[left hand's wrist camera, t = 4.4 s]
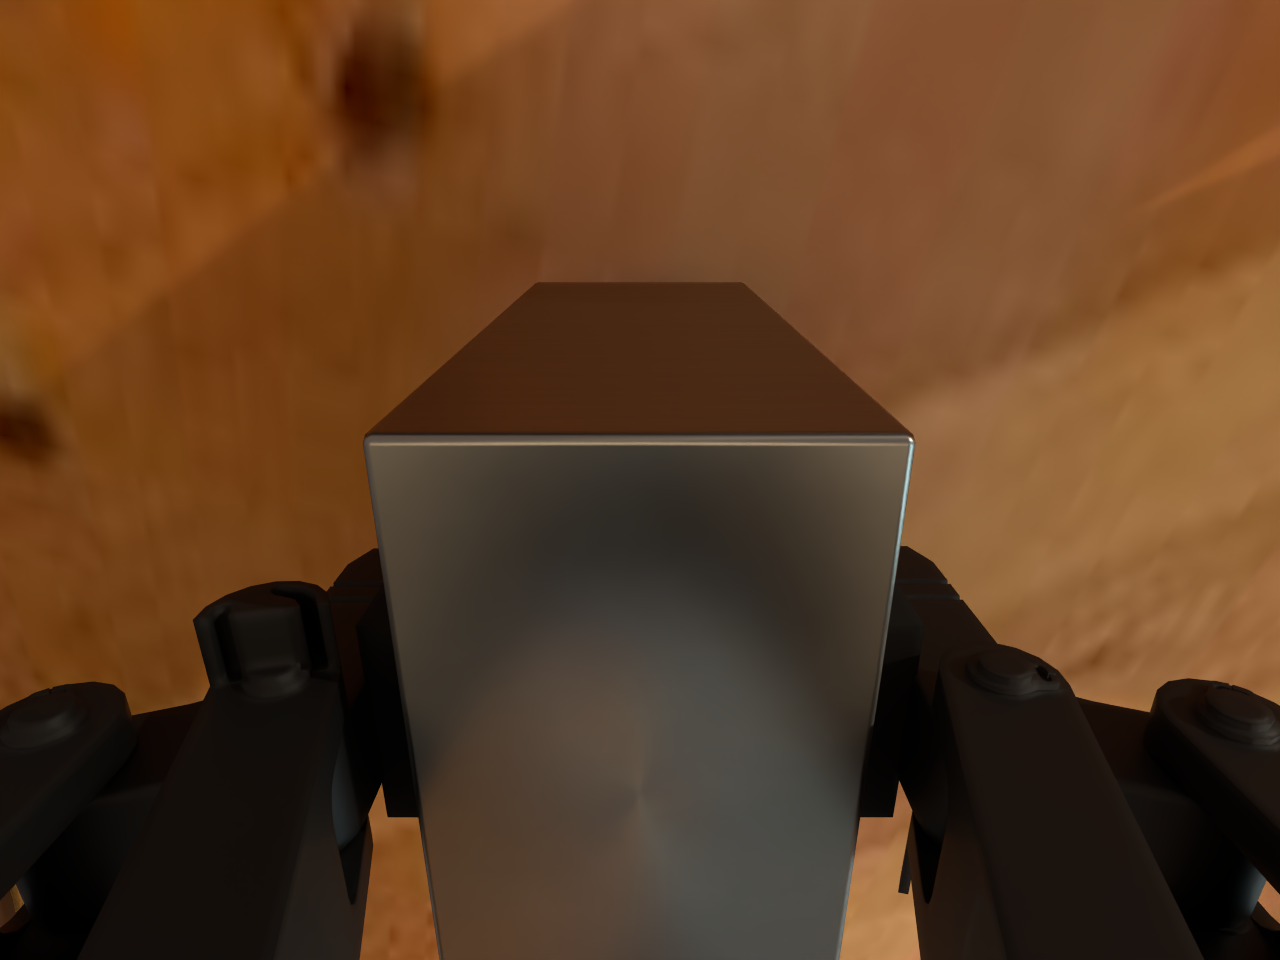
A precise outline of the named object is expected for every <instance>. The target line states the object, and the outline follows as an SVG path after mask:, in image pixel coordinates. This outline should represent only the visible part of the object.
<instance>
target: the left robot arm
mask: <svg viewBox="0 0 1280 960" xmlns="http://www.w3.org/2000/svg"><path fill="white" fill-rule="evenodd" d="M193 623H194V626H195V630H196V634H197V638H198V641H199V645H200V649H201V653H202V657H203V660H204V664H205V668H206V672H207V676H208V679H209V683H210V688H209V690H208V692H207V694H206V696H205V698H204V700H203V701H200V702H196V703H192V704H188V705H183V706H178V707H173V708H168V709H163V710H158V711H152V712H147V713H142V714H137V715H131V712H130V709H129V706H128V702H127V699H126V696H125V693H124V692H122V691H121V690H120V689H118V688H117V687H116V686H115V685H112V684H106V683H99V682H86V683H77V684H65V685H61V686H56V687H53V689H49V688H48V689H45V690H42V691H39V692H36V693H33V694H31V695H30V696H29V697H27V698H24V699H22V700H20V701H18V702H15V703H13V704H11V705H9V706H7V707H5V708H4V709H2V710H0V960H359V959H360V951H361V942H362V934H363V926H364V917H365V909H366V901H367V893H368V884H369V876H370V868H371V859H372V851H373V840H372V833H371V827H370V822H369V816H368V813H369V811H370V809H371V806H372V804H373V802H374V800H375V797H376V795H377V793H378V790H379V788H380V786H381V783H382V786H383V792H384V798H385V804H386V810H387V816H388V817H418V811H417V804H416V797H415V791H414V784H413V777H412V770H411V764H410V757H409V750H408V743H407V737H406V730H405V723H404V716H403V710H402V703H401V696H400V689H399V683H398V676H397V669H396V662H395V656H394V649H393V642H392V635H391V629H390V622H389V615H388V609H387V602H386V595H385V588H384V582H383V575H382V568H381V561H380V555H379V549H372V550H371V551H369V552H367V553H366V554H364V555H363V556H361V557H359V558H358V559H356V560H354V561H353V562H351V563H350V564H348V565H347V566H346V568H345V569H344V570H343V572H342V573H341V574H340V575H339V577H338V578H337V579H336V580H335V582H334V586H333V587H330V588H329V589H328V591H327V592H326V591H325V590H323V589H322V588H321V587H319V586H318V585H315V584H310V583H306V582H301V581H277V582H271V583H266V584H260V585H255V586H250V587H247V588H245V589H242V590H239V591H236V592H233V593H230V594H228V595H225V596H224V597H222V598H220V599H218V600H217V601H215V602H213V603H211V604H210V605H208V606H206V607H205V608H204V609H203V610H202V611H201V612H200V613H199V614H198V615H197V616H196V617H195V618H194V619H193ZM899 781H900V783H901V785H902V788H903V790H904V792H905V795H906V797H907V799H908V801H909V804H910V806H911V808H912V810H913V811H912V816H911V822H910V827H909V833H908V838H907V844H906V849H905V855H904V860H903V866H902V871H901V877H900V884H899V890H898V892H899V893H904V894H908V892H909V887H910V882H911V883H912V891H913V899H914V907H915V916H916V924H917V932H918V940H919V949H920V957H921V960H1280V924H1279V923H1278V922H1277V921H1276V920H1275V919H1274V918H1273V917H1272V916H1270V914H1269V913H1268V912H1267V911H1266V910H1265V909H1264V908H1263V906H1262V905H1261V904H1260V903H1259V902H1258V899H1259V896H1260V894H1261V892H1262V889H1263V887H1264V885H1265V883H1266V880H1267V881H1268V882H1269V883H1270V884H1271V885H1272V886H1273V888H1274V889H1275V890H1276V891H1277V892H1278V893H1279V894H1280V706H1279V705H1278V704H1276V703H1274V702H1272V701H1270V700H1267V699H1265V698H1263V697H1261V696H1258V695H1256V694H1254V693H1253V692H1251V691H1249V690H1247V689H1244V688H1241V687H1238V686H1235V685H1232V686H1230V685H1229V684H1228V683H1223V682H1218V681H1208V680H1198V679H1189V678H1188V679H1181V680H1174V681H1168V682H1167V683H1165V684H1164V685H1163V686H1162V687H1160V688H1159V689H1158V690H1157V692H1156V695H1155V698H1154V701H1153V704H1152V708H1151V711H1150V712H1145V711H1140V710H1135V709H1130V708H1124V707H1119V706H1114V705H1109V704H1104V703H1099V702H1094V701H1090V700H1086V699H1082V698H1078V697H1075V695H1074V693H1073V691H1072V689H1071V686H1070V685H1069V684H1068V682H1067V681H1066V680H1065V679H1064V677H1063V676H1062V675H1061V674H1060V672H1059V671H1058V670H1056V669H1055V668H1054V667H1052V666H1051V665H1049V664H1048V663H1046V662H1045V661H1043V660H1042V659H1040V658H1039V657H1036V656H1034V655H1032V654H1029V653H1027V652H1024V651H1022V650H1020V649H1017V648H1014V647H1010V646H1005V645H1001V644H997V643H996V641H995V640H994V639H993V638H992V636H991V635H990V634H989V633H988V631H987V630H986V629H985V627H984V626H983V625H982V624H981V622H980V621H979V620H978V619H977V617H976V616H975V615H974V614H973V612H972V611H971V610H970V608H969V607H968V606H967V605H966V603H965V602H964V601H963V600H960V598H959V594H958V593H957V592H956V591H955V589H954V588H953V587H952V586H951V584H948V583H947V579H946V578H945V577H944V575H943V574H942V573H941V572H940V570H939V569H938V568H937V567H936V565H935V564H934V563H933V562H932V561H930V560H929V559H927V558H926V557H924V556H922V555H921V554H919V553H917V552H916V551H914V550H913V549H911V548H909V547H908V546H900V550H899V557H898V564H897V571H896V577H895V584H894V591H893V598H892V605H891V611H890V618H889V625H888V632H887V638H886V645H885V652H884V659H883V666H882V672H881V679H880V686H879V693H878V699H877V706H876V713H875V720H874V727H873V733H872V740H871V747H870V754H869V760H868V767H867V774H866V781H865V788H864V794H863V801H862V808H861V815H860V817H893V813H894V807H895V801H896V795H897V790H898V784H899ZM15 884H16V886H17V888H18V890H19V892H20V895H21V897H22V899H23V902H24V905H23V906H22V907H21V908H20V909H19V910H18V911H17V913H16V914H15V909H14V904H13V900H12V897H11V894H10V889H11V888H12V887H13V886H14V885H15Z"/></svg>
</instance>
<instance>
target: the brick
mask: <svg viewBox="0 0 1280 960" xmlns="http://www.w3.org/2000/svg"><path fill="white" fill-rule="evenodd" d="M363 447H364V453H365V460H366V467H367V474H368V480H369V487H370V494H371V501H372V507H373V514H374V521H375V528H376V534H377V541H378V548H379V555H380V561H381V568H382V575H383V582H384V588H385V595H386V602H387V609H388V615H389V622H390V629H391V635H392V642H393V649H394V656H395V662H396V669H397V676H398V683H399V689H400V696H401V703H402V710H403V716H404V723H405V730H406V737H407V743H408V750H409V757H410V764H411V770H412V777H413V784H414V791H415V797H416V804H417V811H418V817H419V824H420V831H421V838H422V844H423V851H424V858H425V865H426V871H427V878H428V885H429V892H430V898H431V905H432V912H433V919H434V925H435V932H436V939H437V946H438V952H439V959H440V960H839V957H840V950H841V944H842V937H843V930H844V923H845V916H846V910H847V903H848V896H849V889H850V883H851V876H852V869H853V862H854V855H855V849H856V842H857V835H858V828H859V821H860V815H861V808H862V801H863V794H864V788H865V781H866V774H867V767H868V760H869V754H870V747H871V740H872V733H873V727H874V720H875V713H876V706H877V699H878V693H879V686H880V679H881V672H882V666H883V659H884V652H885V645H886V638H887V632H888V625H889V618H890V611H891V605H892V598H893V591H894V584H895V577H896V571H897V564H898V557H899V550H900V543H901V537H902V530H903V523H904V516H905V510H906V503H907V496H908V489H909V482H910V476H911V469H912V462H913V455H914V449H915V440H914V436H913V434H912V433H911V432H910V431H909V430H907V429H906V428H905V427H904V426H903V425H902V424H901V423H900V422H898V421H897V420H896V419H895V418H894V417H893V416H892V415H891V414H889V413H888V412H887V411H886V410H885V409H884V408H883V407H882V406H881V405H879V404H878V403H877V402H876V401H875V400H874V399H873V398H872V397H870V396H869V395H868V394H867V393H866V392H865V391H864V390H863V389H861V388H860V387H859V386H858V385H857V384H856V383H855V382H854V381H853V380H851V379H850V378H849V377H848V376H847V375H846V374H845V373H844V372H842V371H841V370H840V369H839V368H838V367H837V366H836V365H835V364H833V363H832V362H831V361H830V360H829V359H828V358H827V357H826V356H825V355H823V354H822V353H821V352H820V351H819V350H818V349H817V348H816V347H814V346H813V345H812V344H811V343H810V342H809V341H808V340H807V339H805V338H804V337H803V336H802V335H801V334H800V333H799V332H798V331H797V330H795V329H794V328H793V327H792V326H791V325H790V324H789V323H788V322H786V321H785V320H784V319H783V318H782V317H781V316H780V315H779V314H777V313H776V312H775V311H774V310H773V309H772V308H771V307H770V306H768V305H767V304H766V303H765V302H764V301H763V300H762V299H761V298H760V297H758V296H757V295H756V294H755V293H754V292H753V291H752V290H751V289H749V288H748V287H747V286H746V285H745V284H743V283H741V282H538V283H536V284H534V285H533V286H532V287H531V288H530V289H529V290H528V291H526V292H525V293H524V294H523V295H522V296H521V297H520V298H519V299H517V300H516V301H515V302H514V303H513V304H512V305H511V306H510V307H508V308H507V309H506V310H505V311H504V312H503V313H502V314H501V315H499V316H498V317H497V318H496V319H495V320H494V321H493V322H492V323H490V324H489V325H488V326H487V327H486V328H485V329H484V330H483V331H481V332H480V333H479V334H478V335H477V336H476V337H475V338H473V339H472V340H471V341H470V342H469V343H468V344H467V345H466V346H464V347H463V348H462V349H461V350H460V351H459V352H458V353H457V354H455V355H454V356H453V357H452V358H451V359H450V360H449V361H448V362H446V363H445V364H444V365H443V366H442V367H441V368H440V369H439V370H437V371H436V372H435V373H434V374H433V375H432V376H431V377H429V378H428V379H427V380H426V381H425V382H424V383H423V384H422V385H420V386H419V387H418V388H417V389H416V390H415V391H414V392H413V393H411V394H410V395H409V396H408V397H407V398H406V399H405V400H404V401H402V402H401V403H400V404H399V405H398V406H397V407H396V408H395V409H393V410H392V411H391V412H390V413H389V414H388V415H387V416H386V417H384V418H383V419H382V420H381V421H380V422H379V423H378V424H376V425H375V426H374V427H373V428H372V429H371V430H370V431H369V432H367V433H366V434H365V437H364V440H363Z"/></svg>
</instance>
